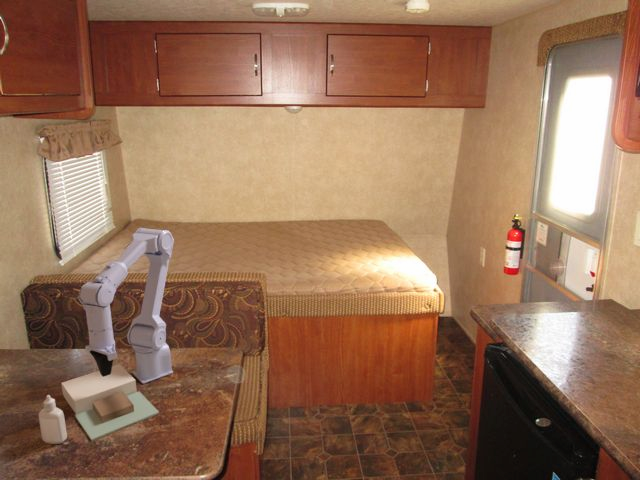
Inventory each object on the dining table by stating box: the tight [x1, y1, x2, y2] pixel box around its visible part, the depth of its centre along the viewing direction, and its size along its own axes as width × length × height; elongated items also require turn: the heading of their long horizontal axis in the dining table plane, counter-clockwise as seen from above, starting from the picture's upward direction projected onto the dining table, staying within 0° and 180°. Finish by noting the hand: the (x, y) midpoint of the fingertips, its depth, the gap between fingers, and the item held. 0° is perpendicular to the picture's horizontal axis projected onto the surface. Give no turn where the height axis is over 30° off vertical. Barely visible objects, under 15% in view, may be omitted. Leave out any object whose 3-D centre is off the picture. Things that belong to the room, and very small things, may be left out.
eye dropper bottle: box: [38, 394, 68, 445], centre depth 121 cm, size 4×6×12 cm
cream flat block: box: [61, 363, 138, 415], centre depth 141 cm, size 16×12×4 cm
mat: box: [74, 391, 160, 442], centre depth 132 cm, size 17×13×1 cm
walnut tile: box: [92, 392, 134, 423], centre depth 133 cm, size 8×8×2 cm
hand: (106, 374), depth 133 cm, fingers closed
